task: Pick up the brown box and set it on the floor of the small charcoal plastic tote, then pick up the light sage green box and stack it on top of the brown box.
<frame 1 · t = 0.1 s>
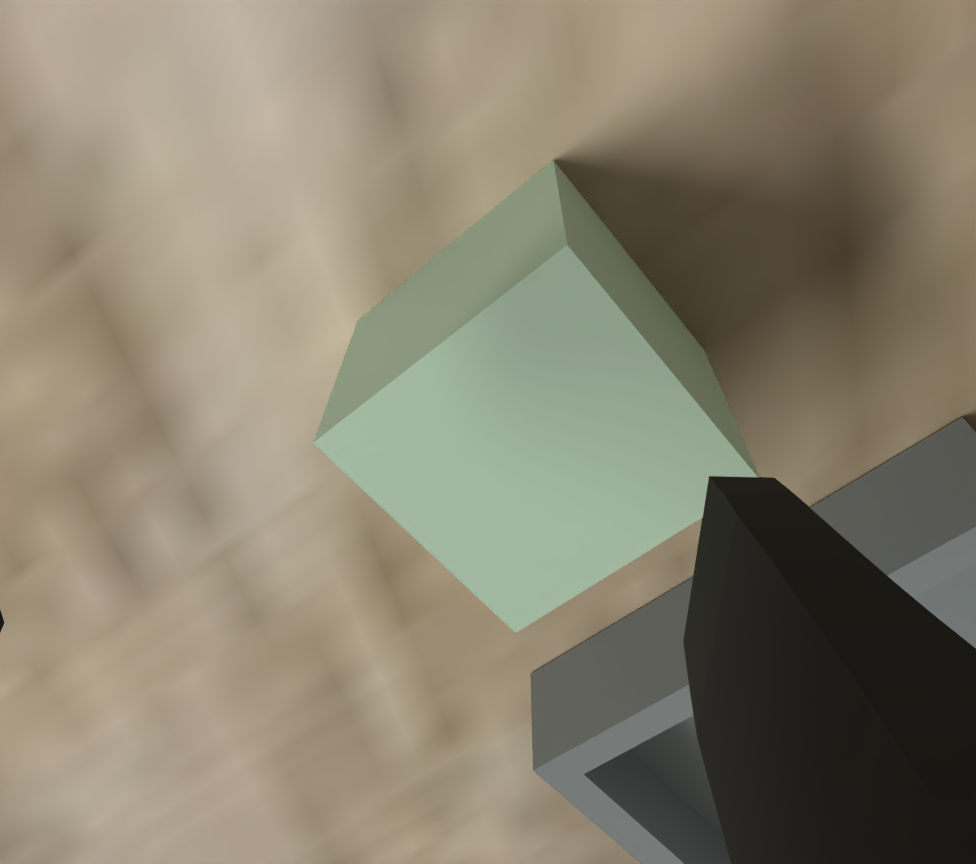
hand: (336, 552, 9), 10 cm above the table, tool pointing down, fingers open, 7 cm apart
tote: (852, 699, 24), on the table
light box: (532, 333, 19), on the table
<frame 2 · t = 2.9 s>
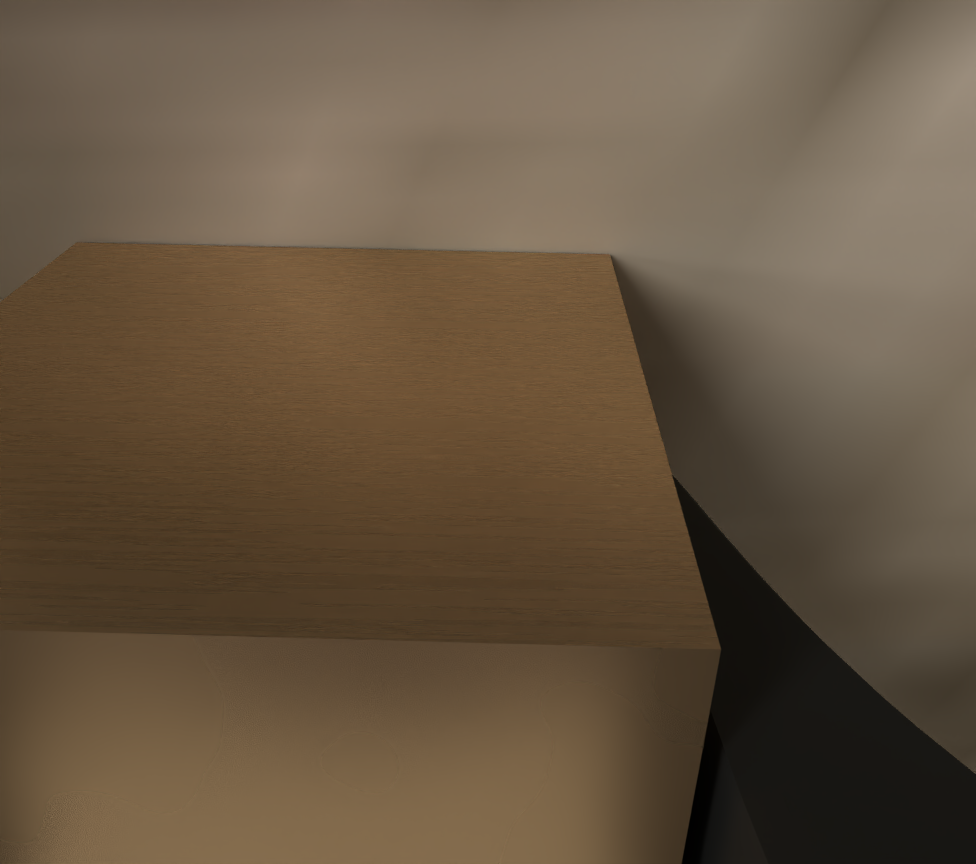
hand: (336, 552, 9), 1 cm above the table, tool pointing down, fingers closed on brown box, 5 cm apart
brown box: (356, 474, 10), on the table, touching gripper
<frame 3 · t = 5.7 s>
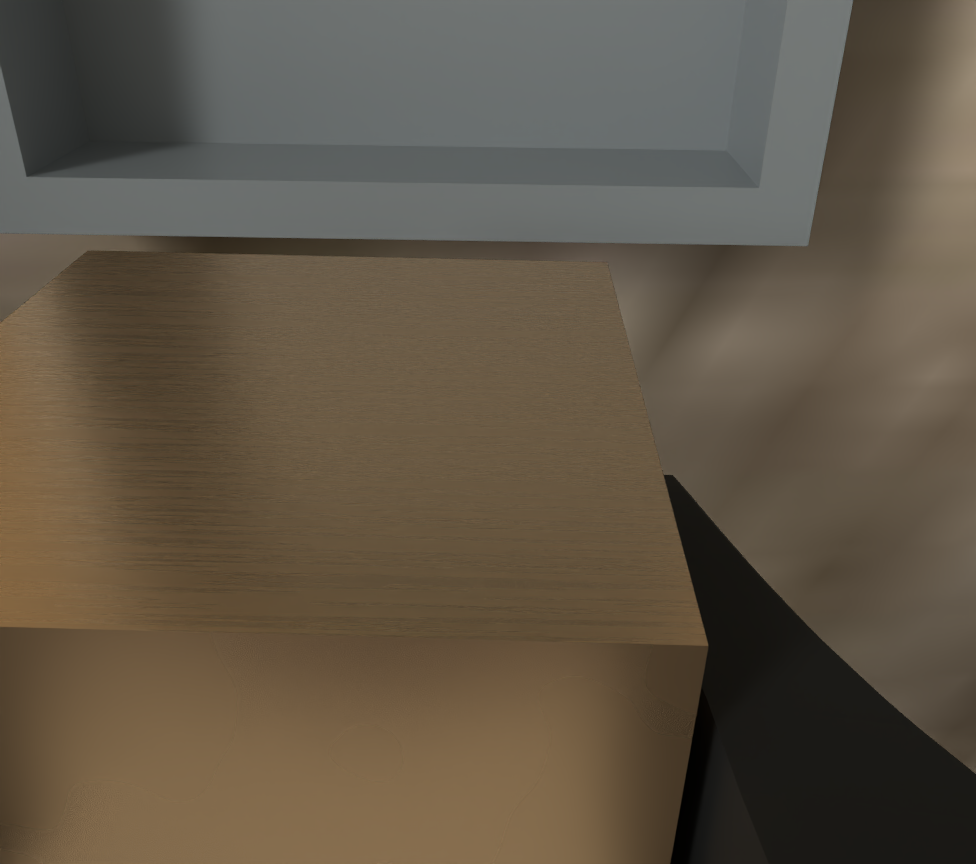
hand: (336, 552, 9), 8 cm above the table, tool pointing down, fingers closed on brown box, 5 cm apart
brown box: (360, 476, 11), point 7 cm above the table, touching gripper
when the fingers open (3 cm above the table, at t = 8.5 s): brown box stays where it is, resting on tote.
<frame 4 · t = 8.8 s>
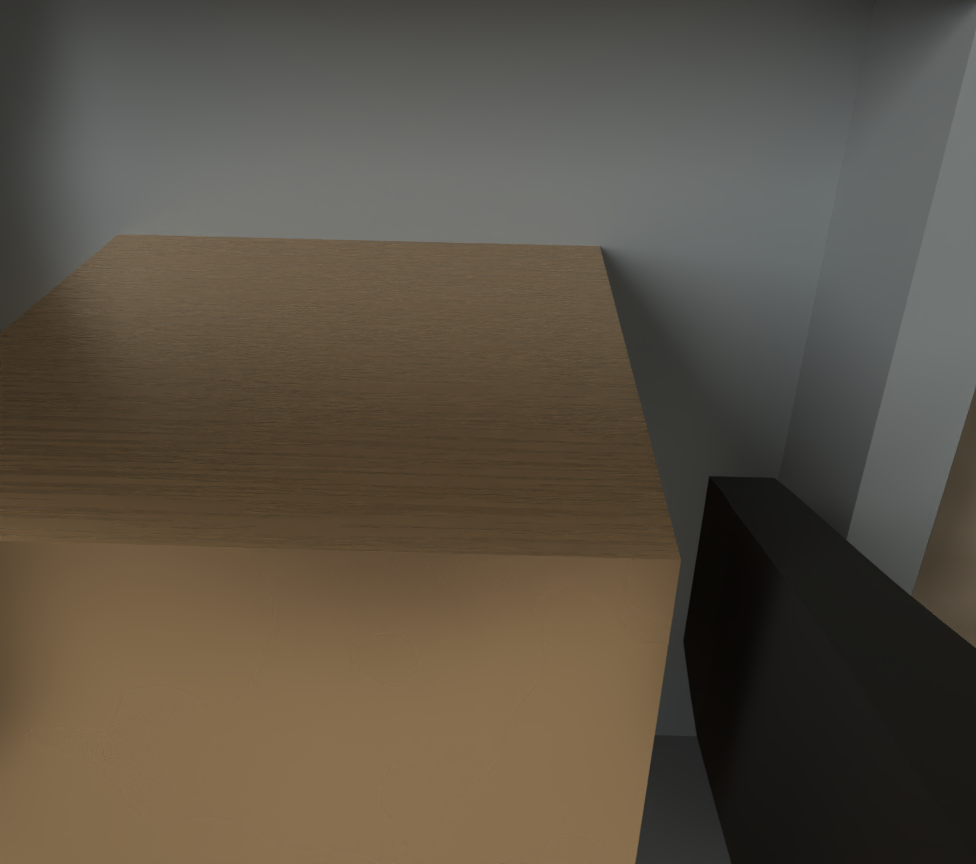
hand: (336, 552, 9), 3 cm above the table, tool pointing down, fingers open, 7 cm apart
tote: (377, 400, 12), on the table
brown box: (369, 447, 11), point 1 cm above the table, touching tote
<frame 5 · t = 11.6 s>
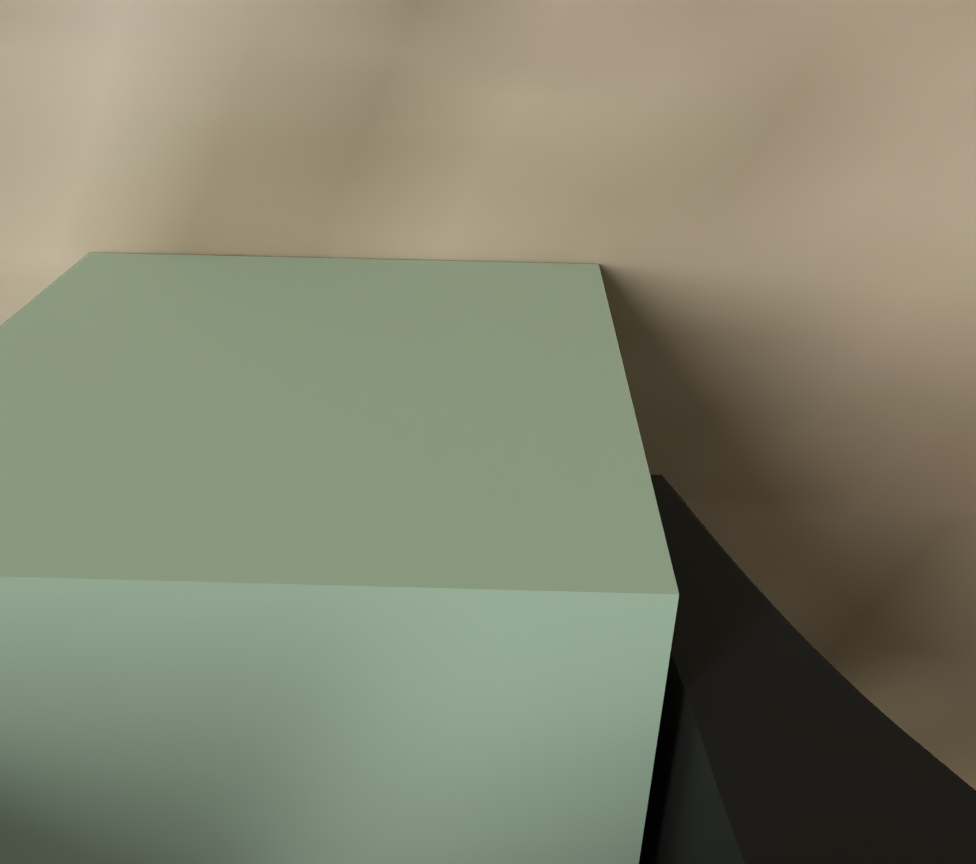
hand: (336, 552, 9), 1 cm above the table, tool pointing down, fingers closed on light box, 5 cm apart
light box: (356, 474, 10), on the table, touching gripper
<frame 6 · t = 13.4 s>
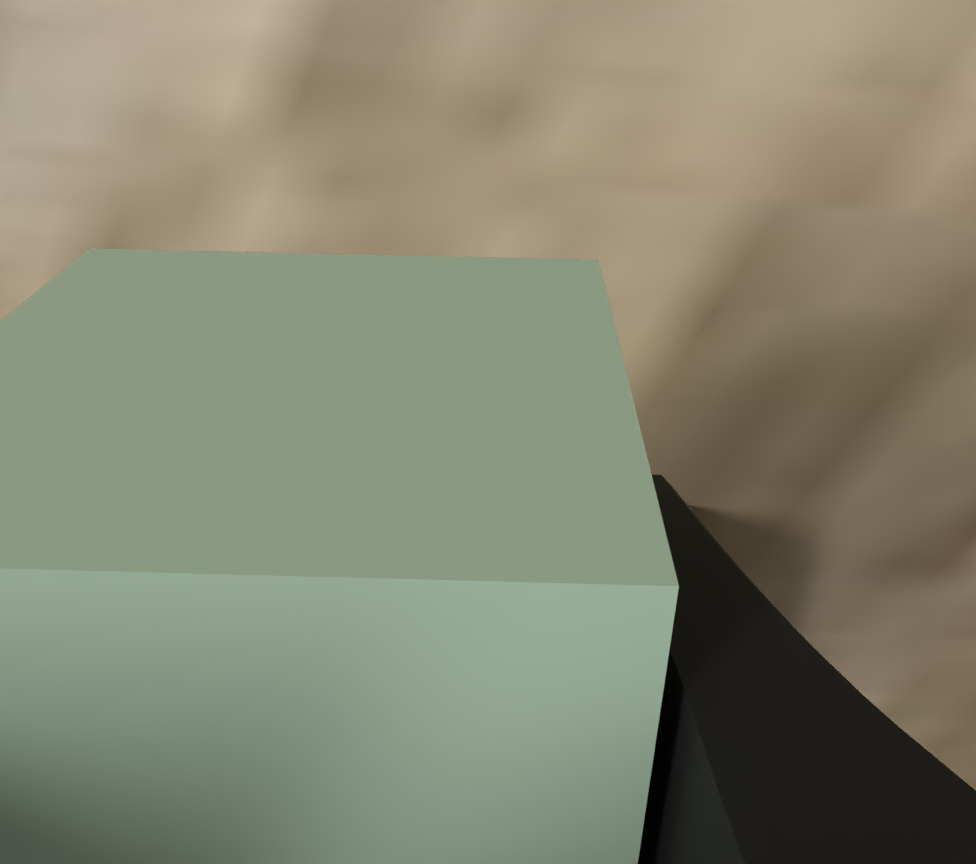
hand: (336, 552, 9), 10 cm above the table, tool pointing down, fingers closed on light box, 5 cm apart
light box: (356, 470, 10), point 8 cm above the table, touching gripper
when the fingers open (9 cm above the table, at t = 15.3 s): light box stays where it is, resting on brown box.
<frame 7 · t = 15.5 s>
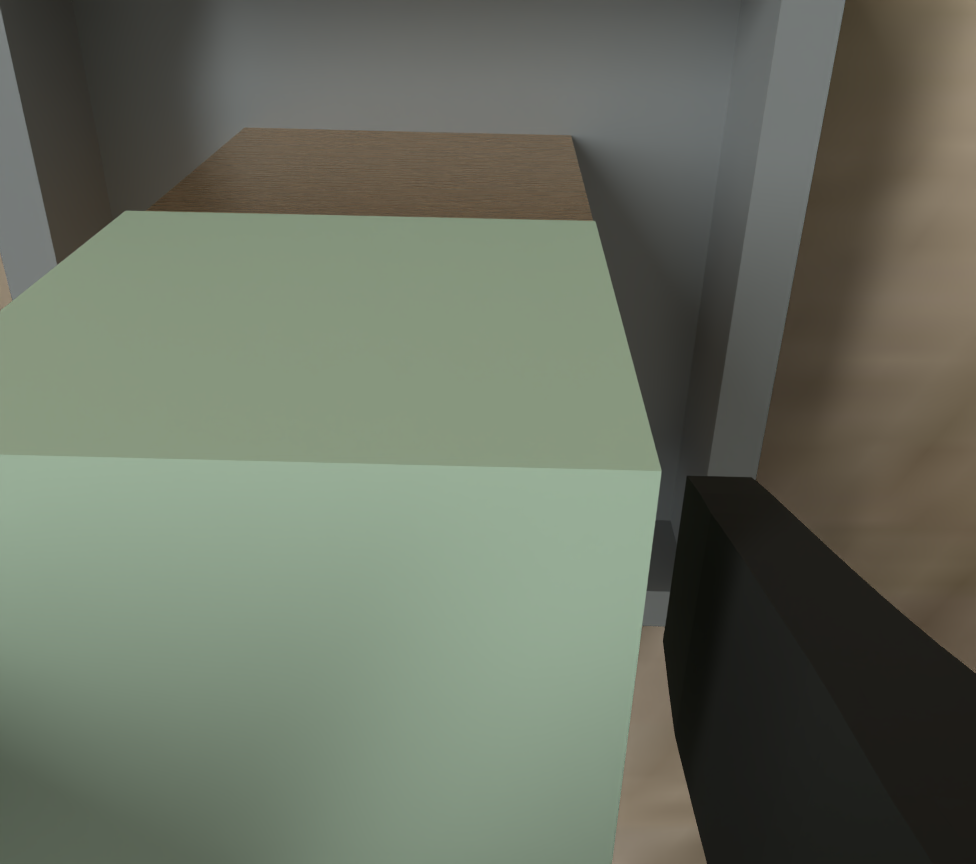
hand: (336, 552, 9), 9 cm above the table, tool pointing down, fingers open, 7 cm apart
tote: (415, 257, 17), on the table
light box: (370, 421, 11), point 6 cm above the table, touching brown box
brown box: (411, 286, 16), point 1 cm above the table, touching light box, tote
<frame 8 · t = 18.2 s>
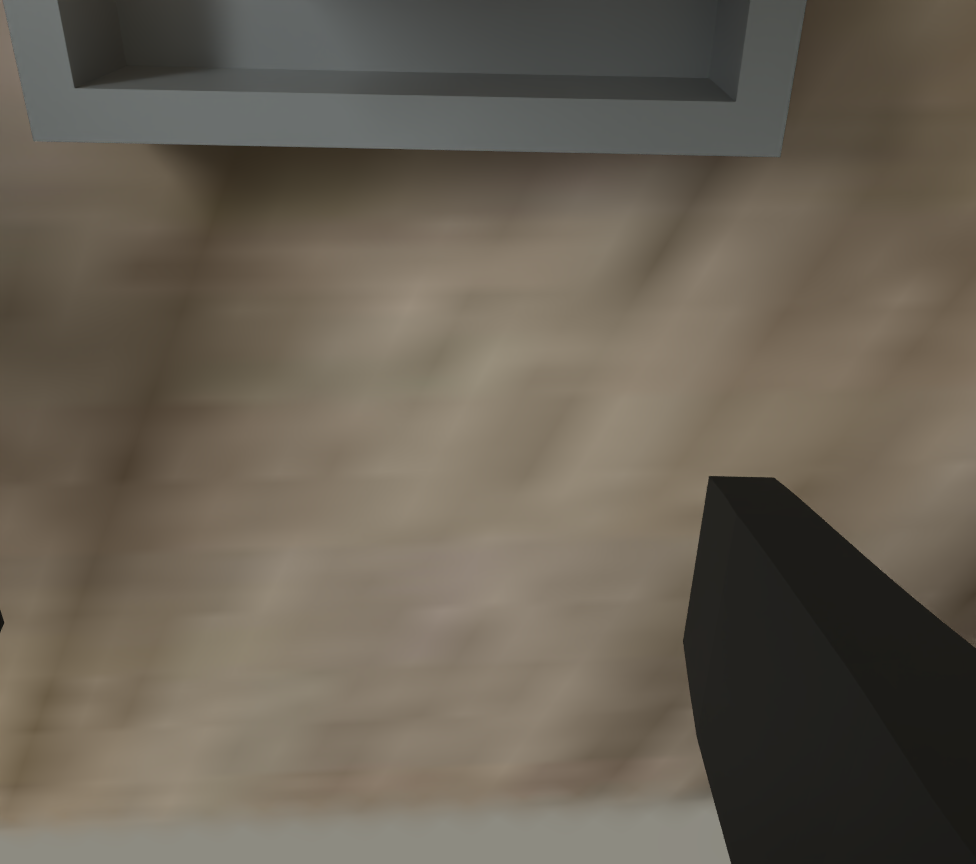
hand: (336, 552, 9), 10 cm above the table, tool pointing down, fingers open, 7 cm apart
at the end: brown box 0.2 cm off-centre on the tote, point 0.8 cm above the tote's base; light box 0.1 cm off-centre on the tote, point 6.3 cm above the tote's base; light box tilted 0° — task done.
